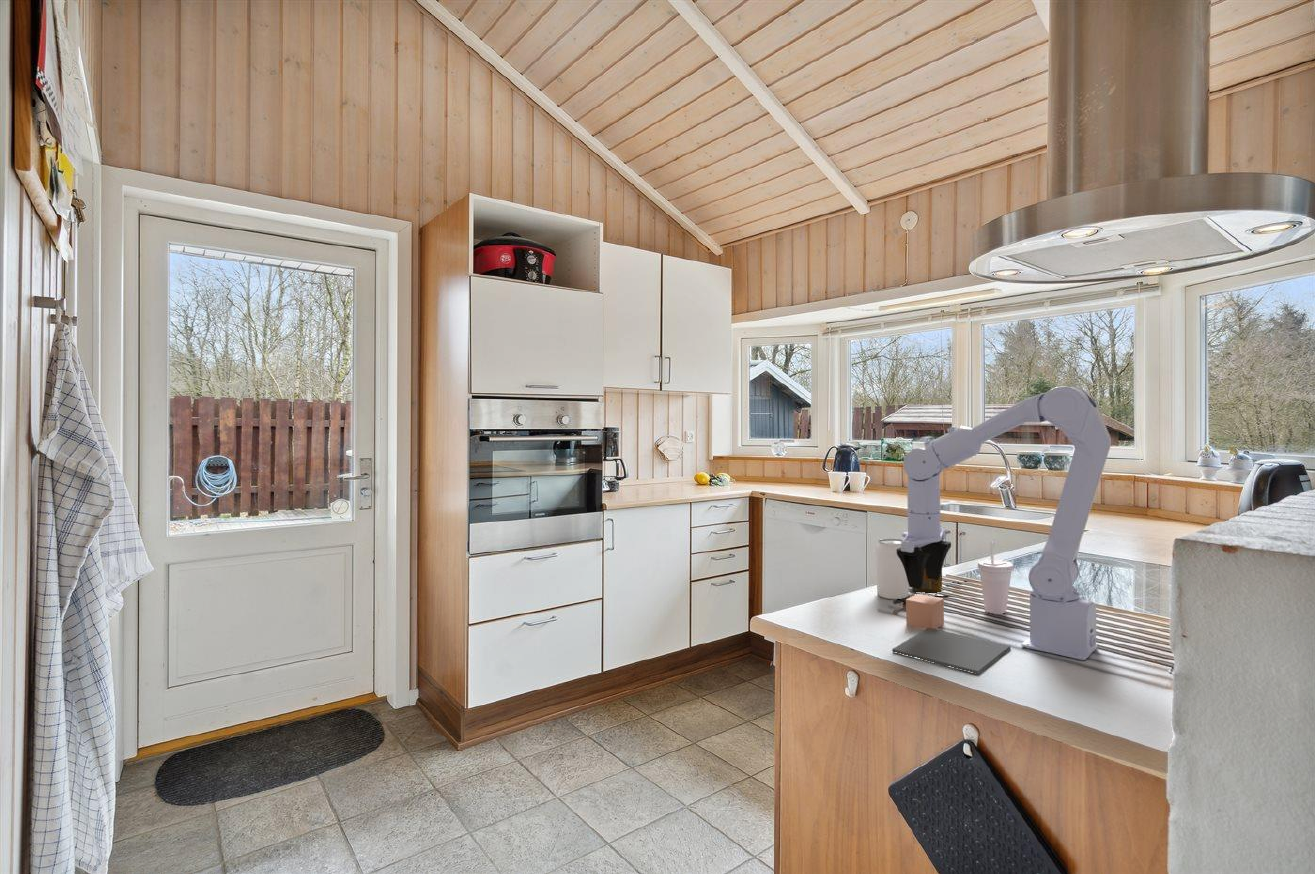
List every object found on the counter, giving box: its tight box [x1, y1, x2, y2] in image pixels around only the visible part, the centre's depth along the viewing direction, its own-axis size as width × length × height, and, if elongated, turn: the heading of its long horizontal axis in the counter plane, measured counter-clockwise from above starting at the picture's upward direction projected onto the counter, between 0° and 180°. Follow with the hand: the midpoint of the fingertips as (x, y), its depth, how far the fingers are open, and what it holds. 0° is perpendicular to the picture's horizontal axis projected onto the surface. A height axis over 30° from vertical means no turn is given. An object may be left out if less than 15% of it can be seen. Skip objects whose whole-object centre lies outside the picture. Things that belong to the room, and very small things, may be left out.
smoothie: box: [977, 540, 1015, 615], centre depth 133 cm, size 6×6×14 cm
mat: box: [891, 628, 1011, 675], centre depth 114 cm, size 14×14×1 cm
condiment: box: [909, 547, 943, 596], centre depth 148 cm, size 7×8×12 cm
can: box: [876, 538, 910, 601], centre depth 145 cm, size 6×6×12 cm
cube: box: [905, 594, 945, 630], centre depth 127 cm, size 5×5×5 cm
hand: (924, 583), depth 127 cm, fingers open, 7 cm apart
